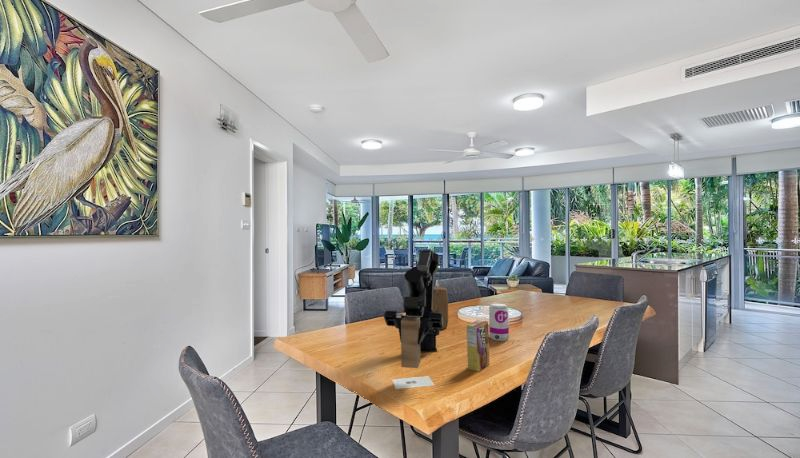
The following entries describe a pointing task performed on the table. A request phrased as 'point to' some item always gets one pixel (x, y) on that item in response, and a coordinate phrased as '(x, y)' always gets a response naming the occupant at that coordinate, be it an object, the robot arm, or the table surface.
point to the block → (441, 303)
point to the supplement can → (498, 322)
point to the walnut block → (410, 342)
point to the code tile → (412, 382)
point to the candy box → (478, 345)
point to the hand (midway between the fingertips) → (410, 343)
